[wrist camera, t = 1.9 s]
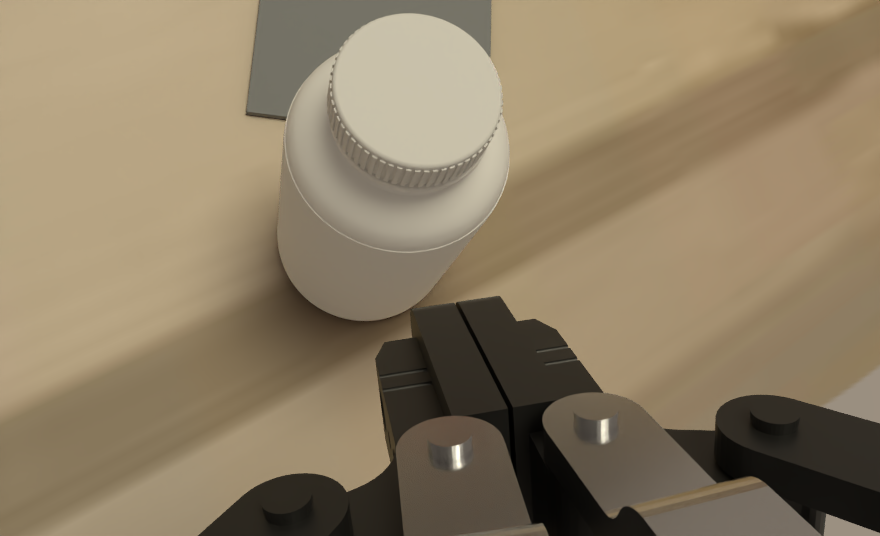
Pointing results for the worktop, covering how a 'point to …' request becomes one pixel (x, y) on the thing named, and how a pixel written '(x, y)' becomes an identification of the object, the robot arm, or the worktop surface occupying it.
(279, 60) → the mat
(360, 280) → the pill bottle
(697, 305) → the worktop surface
